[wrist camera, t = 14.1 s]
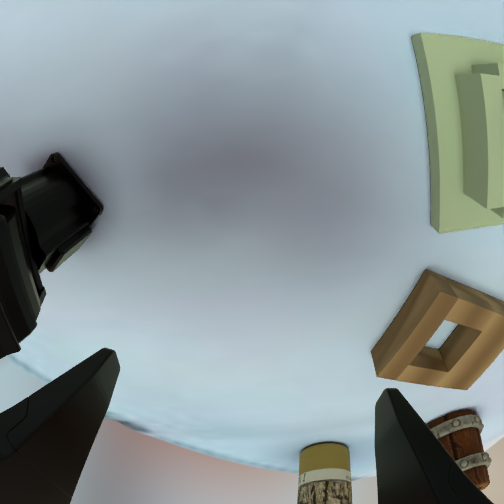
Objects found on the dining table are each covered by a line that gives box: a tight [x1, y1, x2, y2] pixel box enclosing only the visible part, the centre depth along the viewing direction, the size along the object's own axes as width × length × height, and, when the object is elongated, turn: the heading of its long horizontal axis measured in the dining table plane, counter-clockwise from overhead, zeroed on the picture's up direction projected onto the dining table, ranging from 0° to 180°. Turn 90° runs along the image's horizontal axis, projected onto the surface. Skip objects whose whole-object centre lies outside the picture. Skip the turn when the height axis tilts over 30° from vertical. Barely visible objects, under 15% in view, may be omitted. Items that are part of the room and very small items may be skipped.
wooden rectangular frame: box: [371, 270, 504, 390], centre depth 22 cm, size 12×9×3 cm
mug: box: [427, 410, 491, 491], centre depth 26 cm, size 12×14×15 cm
